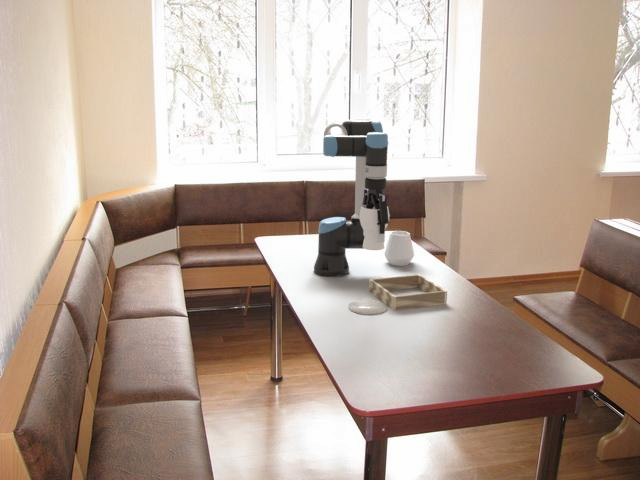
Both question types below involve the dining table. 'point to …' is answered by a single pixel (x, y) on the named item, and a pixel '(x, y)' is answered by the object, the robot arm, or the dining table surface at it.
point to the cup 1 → (370, 228)
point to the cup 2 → (399, 248)
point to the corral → (430, 298)
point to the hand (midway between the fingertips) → (373, 238)
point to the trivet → (367, 307)
